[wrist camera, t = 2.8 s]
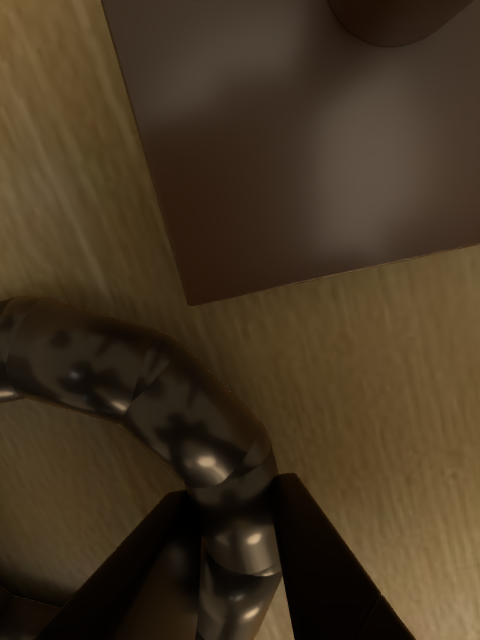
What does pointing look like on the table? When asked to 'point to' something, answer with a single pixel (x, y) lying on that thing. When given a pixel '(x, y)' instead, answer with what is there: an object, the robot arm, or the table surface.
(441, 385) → the table surface
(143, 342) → the studded brown bangle
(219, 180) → the rack
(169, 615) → the robot arm
